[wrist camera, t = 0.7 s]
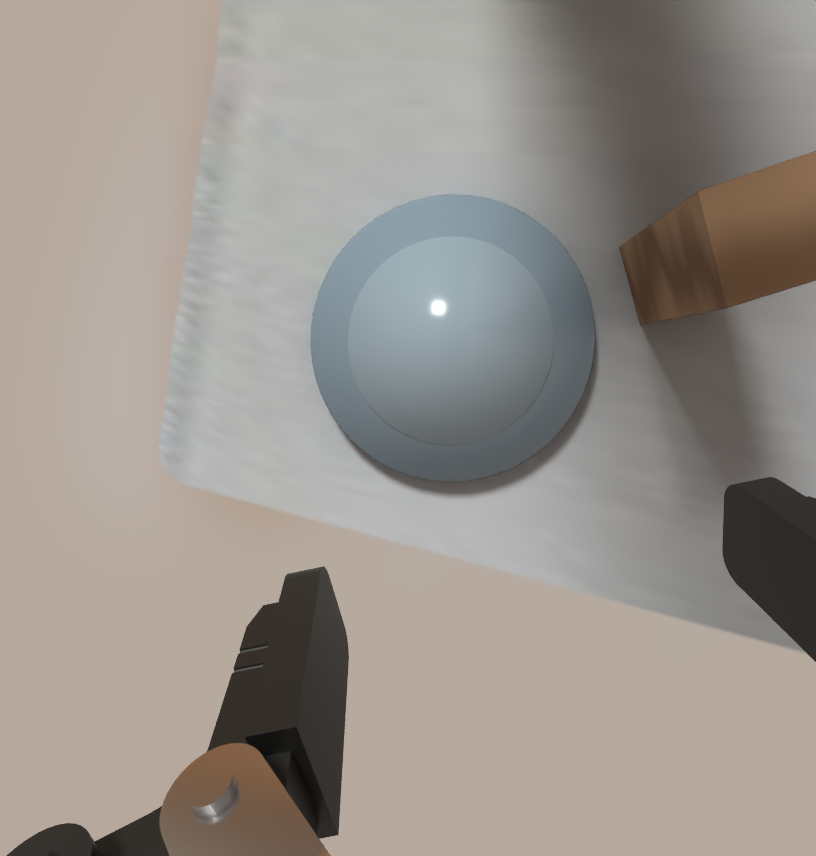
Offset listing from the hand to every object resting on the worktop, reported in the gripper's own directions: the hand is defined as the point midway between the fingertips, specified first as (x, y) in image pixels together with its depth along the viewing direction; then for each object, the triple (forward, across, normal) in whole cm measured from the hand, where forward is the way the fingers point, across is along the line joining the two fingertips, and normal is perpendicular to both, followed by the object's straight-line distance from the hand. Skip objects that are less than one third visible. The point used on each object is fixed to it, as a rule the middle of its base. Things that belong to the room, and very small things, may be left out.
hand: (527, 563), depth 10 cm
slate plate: (+25, -2, +1) cm, 25 cm away
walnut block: (+24, -16, 0) cm, 29 cm away
